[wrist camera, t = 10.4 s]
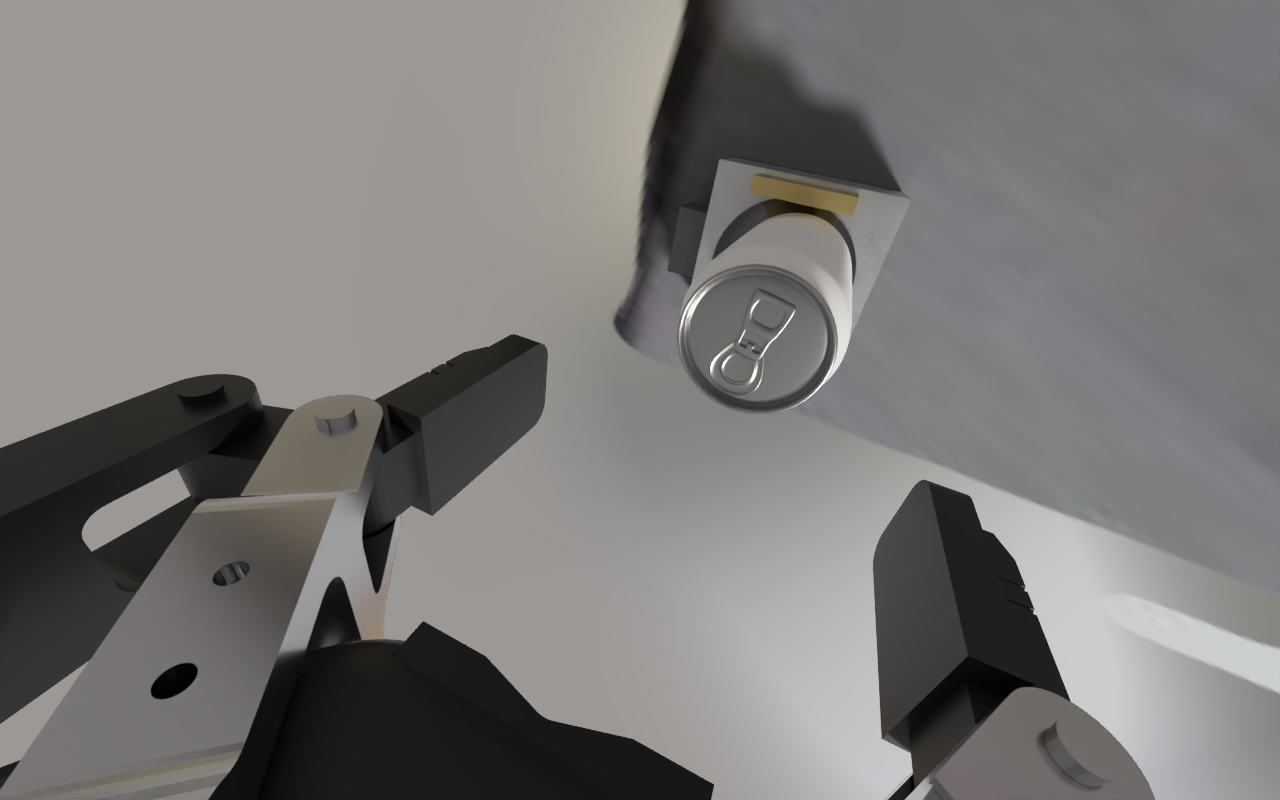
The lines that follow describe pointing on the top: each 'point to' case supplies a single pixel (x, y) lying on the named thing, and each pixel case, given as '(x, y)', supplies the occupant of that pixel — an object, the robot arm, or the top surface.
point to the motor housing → (773, 190)
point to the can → (769, 316)
